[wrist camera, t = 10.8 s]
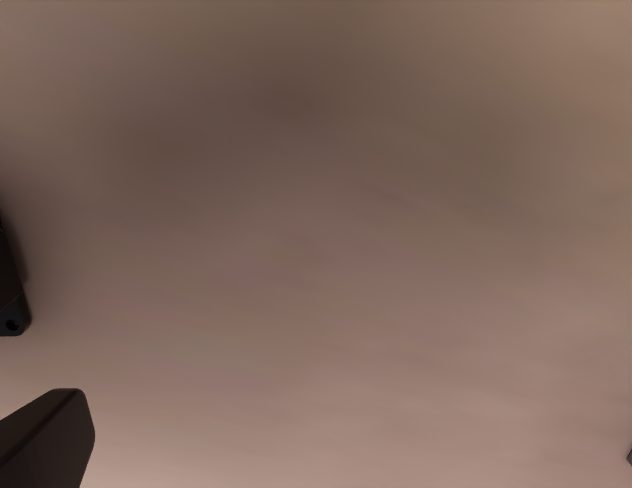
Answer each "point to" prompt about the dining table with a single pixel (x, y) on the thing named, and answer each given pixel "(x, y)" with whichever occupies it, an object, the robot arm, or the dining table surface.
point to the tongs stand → (630, 458)
